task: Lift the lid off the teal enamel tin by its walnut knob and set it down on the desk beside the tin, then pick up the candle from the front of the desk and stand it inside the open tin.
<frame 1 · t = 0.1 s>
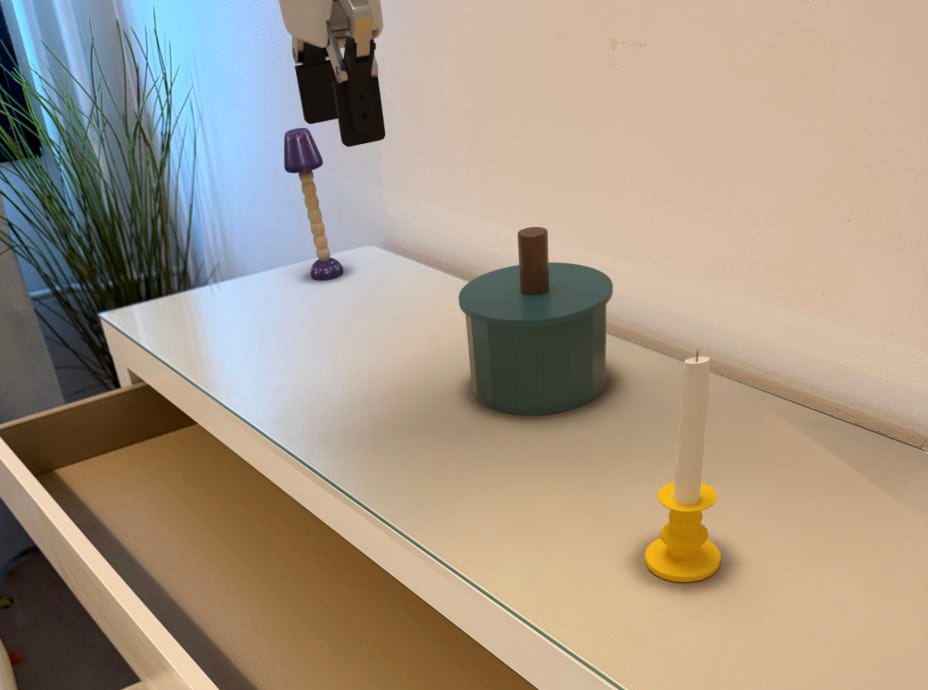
hand: (343, 131, 70), 24 cm above the table, tool pointing down, fingers open, 9 cm apart
tin: (538, 384, 89), on the table
candle: (681, 562, 66), on the table
lid: (535, 296, 84), point 8 cm above the table, touching tin
toy lamp: (325, 275, 119), on the table
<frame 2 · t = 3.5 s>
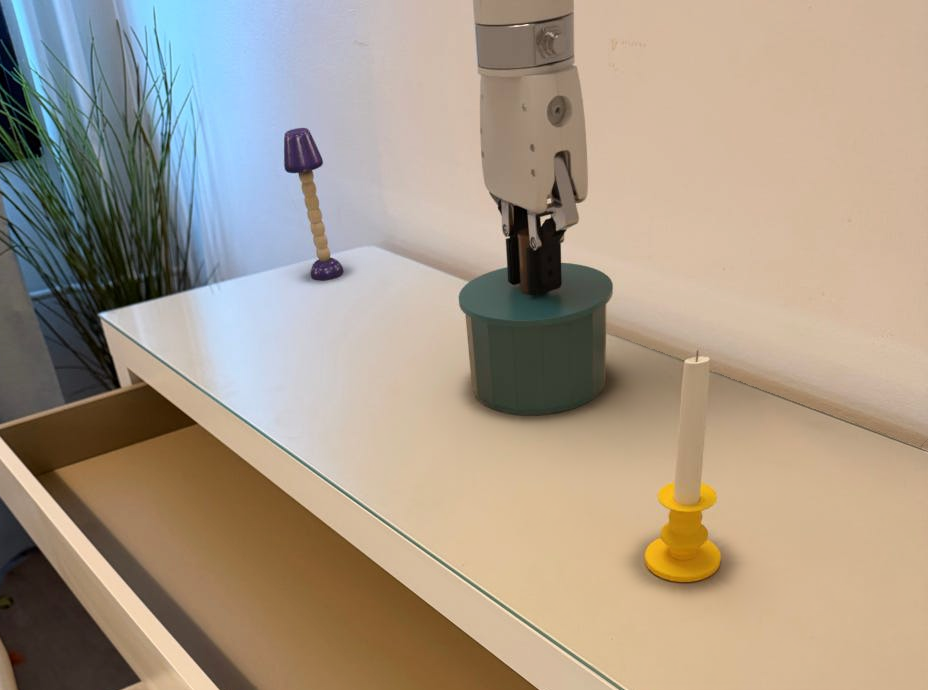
hand: (534, 284, 83), 10 cm above the table, tool pointing down, fingers closed on lid, 2 cm apart
lid: (535, 296, 84), point 9 cm above the table, touching gripper, tin
everything else where it was.
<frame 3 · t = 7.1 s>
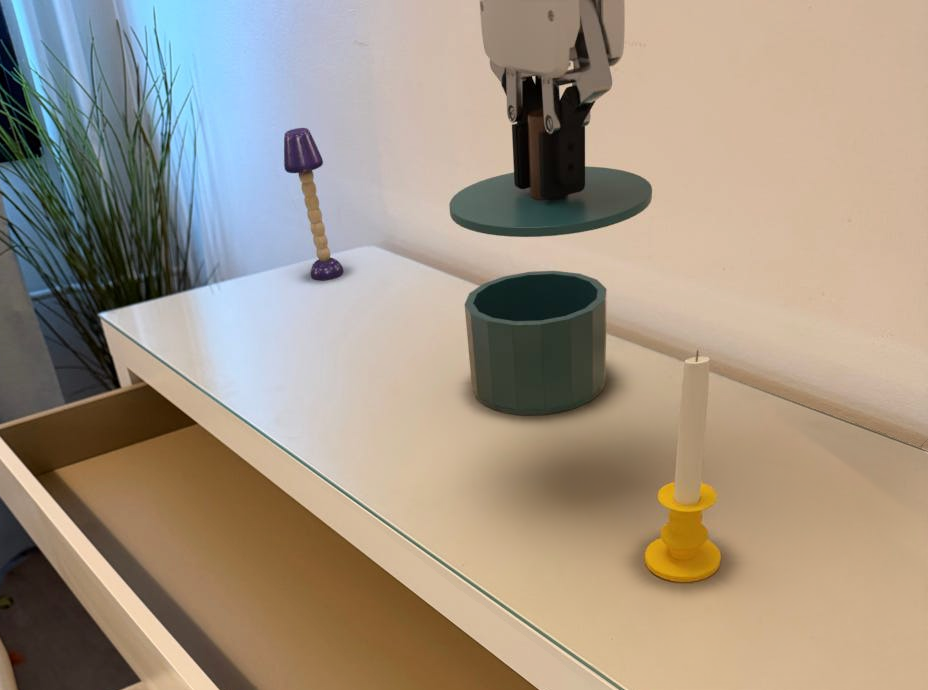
hand: (549, 186, 63), 22 cm above the table, tool pointing down, fingers closed on lid, 2 cm apart
lid: (549, 203, 64), point 21 cm above the table, touching gripper
everything else where it was.
when the fingers open (2 cm above the table, at t = 10.8 s): lid stays where it is, point 1 cm above the table.
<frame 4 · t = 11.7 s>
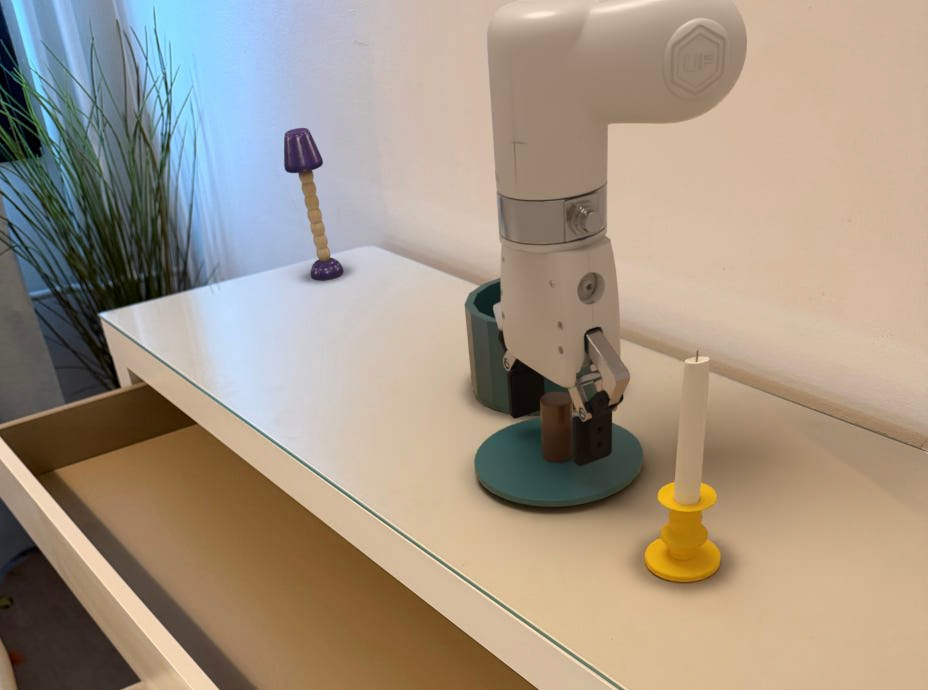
hand: (558, 435, 75), 3 cm above the table, tool pointing down, fingers open, 9 cm apart
lid: (557, 461, 77), point 1 cm above the table
everything else where it was.
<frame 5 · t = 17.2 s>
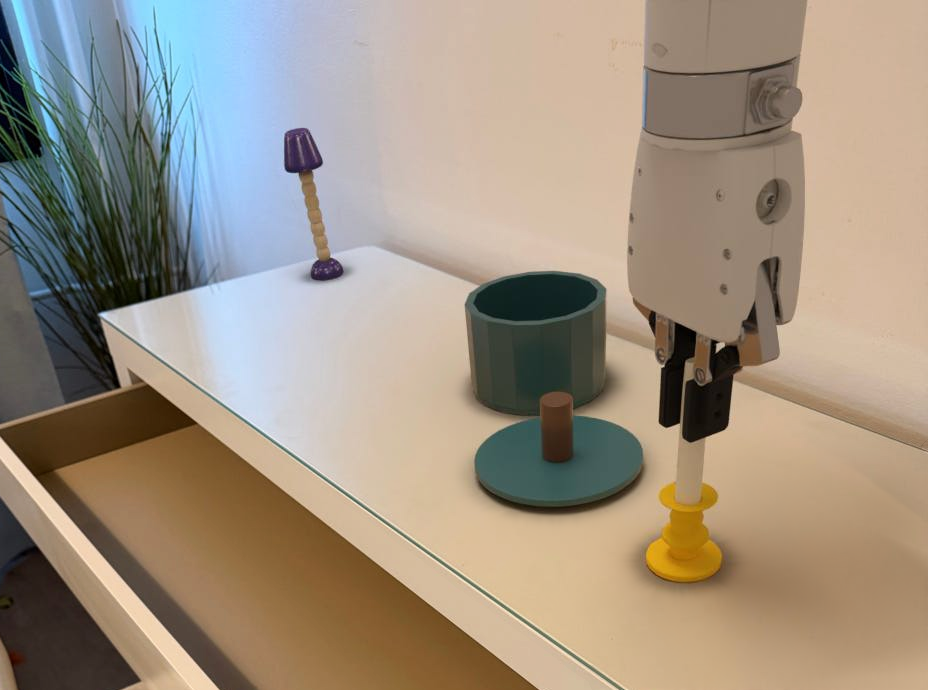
hand: (692, 425, 59), 11 cm above the table, tool pointing down, fingers closed on candle
candle: (683, 562, 66), on the table, touching gripper
everything else where it was.
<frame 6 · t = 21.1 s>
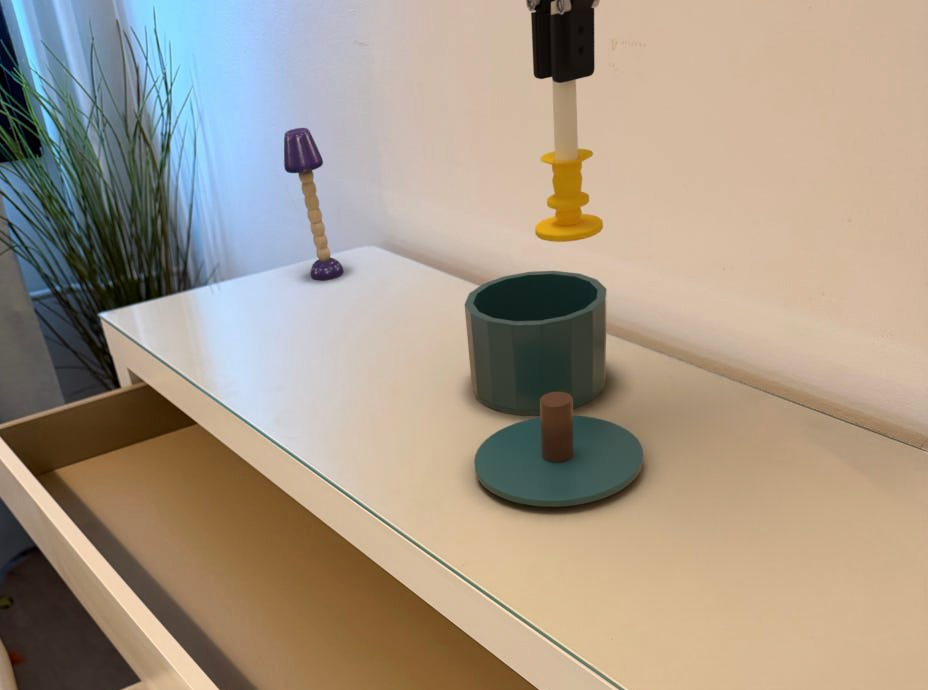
hand: (563, 75, 66), 27 cm above the table, tool pointing down, fingers closed on candle
candle: (568, 233, 72), point 16 cm above the table, touching gripper
everything else where it was.
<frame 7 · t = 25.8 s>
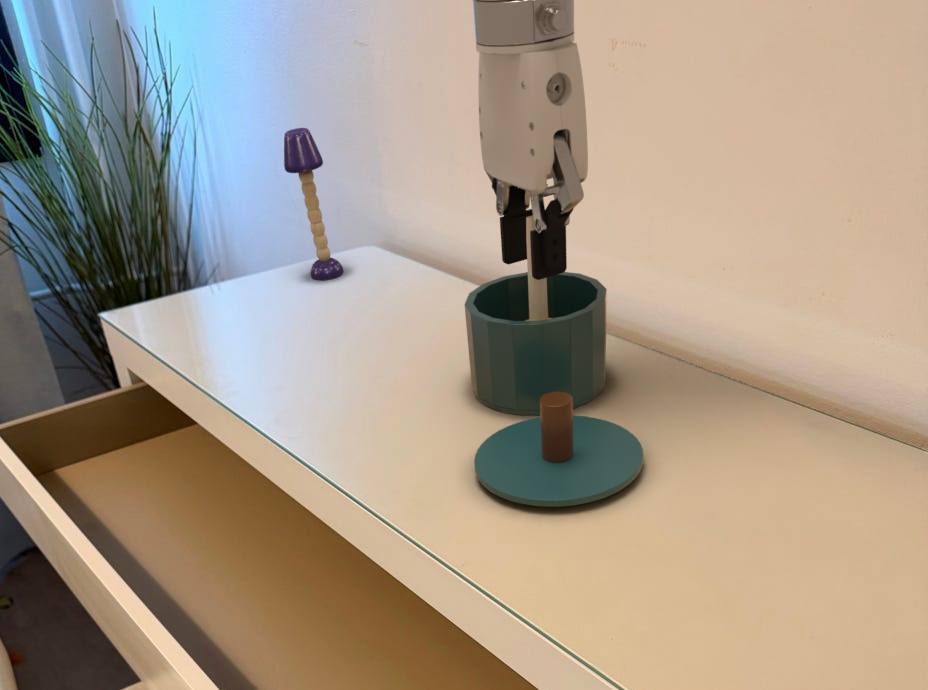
hand: (533, 265, 82), 11 cm above the table, tool pointing down, fingers open, 4 cm apart
candle: (541, 382, 89), resting on tin
everything else where it was.
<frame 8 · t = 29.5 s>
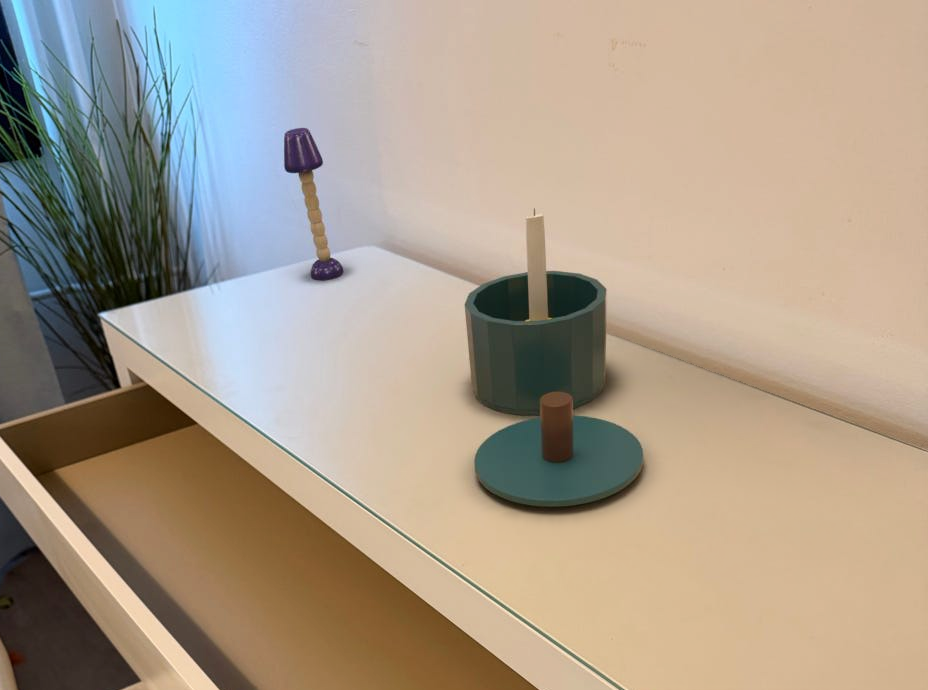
nothing on the table moved.
at the end: lid inside the target area on the table beside the tin (0.1 cm from its centre), point 0.6 cm above the table; candle 0.4 cm off-centre in the tin, point 0.3 cm above the tin's base; candle tilted 0° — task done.
